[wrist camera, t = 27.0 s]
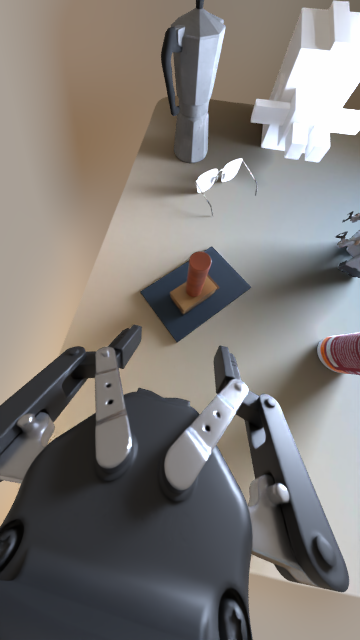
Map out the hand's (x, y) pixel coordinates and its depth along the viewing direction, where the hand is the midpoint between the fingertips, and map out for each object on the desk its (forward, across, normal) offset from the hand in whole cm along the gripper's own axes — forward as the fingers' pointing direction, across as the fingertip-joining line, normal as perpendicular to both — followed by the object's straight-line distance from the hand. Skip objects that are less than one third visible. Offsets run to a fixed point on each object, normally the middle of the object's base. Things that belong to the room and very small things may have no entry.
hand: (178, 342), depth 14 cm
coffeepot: (+44, +10, -29) cm, 54 cm away
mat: (+16, -1, -1) cm, 16 cm away
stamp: (+14, 0, 0) cm, 14 cm away
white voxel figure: (+51, -17, -36) cm, 64 cm away
